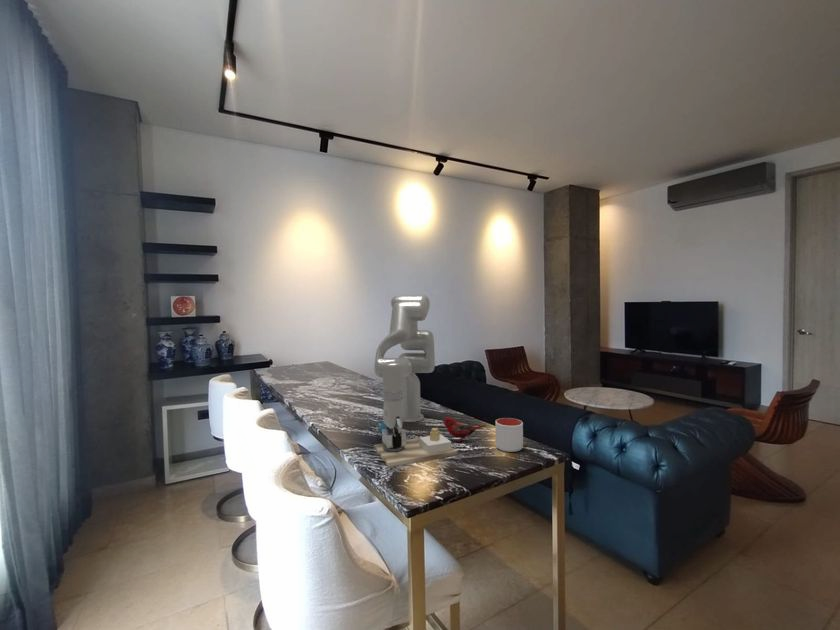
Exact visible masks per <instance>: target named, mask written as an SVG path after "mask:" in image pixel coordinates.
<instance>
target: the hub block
mask: <svg viewBox="0 0 840 630" xmlns="http://www.w3.org/2000/svg"><path fill="white" fill-rule="evenodd" d="M430 430H431V431H430V432H429V435H428V436H422V437H421V436H420V437H418V438H419V446H420V447H421V448H423V449H424V450H425V451H426V452H427V453H428V454H432V453H438V452H444V451H449V450H451V447H452V441H451V440H449V439H448V438H446V436H444V435H443V434H441V433H440V432H441V431H440V430H439V428H438V427H432V428H431V429H430Z"/></svg>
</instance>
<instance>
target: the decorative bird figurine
mask: <svg viewBox="0 0 840 630" xmlns="http://www.w3.org/2000/svg"><path fill="white" fill-rule="evenodd" d="M442 424H444V426H445V427H446V431H447V432H448V433H449V434H450V435H451V436H452V437H455V438H458V439H455V442H456V443H459V442H464V441H465V442H466V439H465V438H467V437H469V436H470V435H473V433H474V432H476V431H477V430H479V429H481V428H484V427H486V426H487V424H483V425H478V426H473V425H470V424H467V423H464V422H463V423H462V422H459V421H456V419H455V418H453V417H449V416H447V417H445V419H444V420H443V422H442Z"/></svg>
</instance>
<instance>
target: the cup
mask: <svg viewBox="0 0 840 630" xmlns="http://www.w3.org/2000/svg"><path fill="white" fill-rule="evenodd" d="M523 427H524V423H523V421H522V420H520V419H517V418H511V417H501V418H498V419H495V446H496V448H497V449H498V450H500V451H503V452H507V453H517V452H519V451H521V450H523V447H524V428H523Z"/></svg>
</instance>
